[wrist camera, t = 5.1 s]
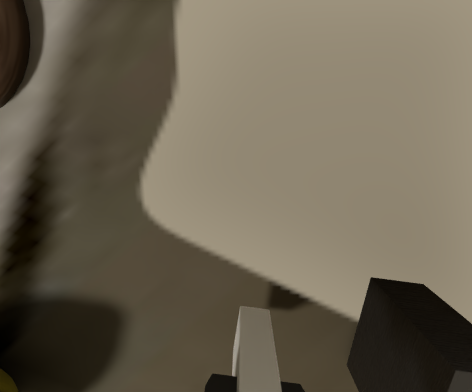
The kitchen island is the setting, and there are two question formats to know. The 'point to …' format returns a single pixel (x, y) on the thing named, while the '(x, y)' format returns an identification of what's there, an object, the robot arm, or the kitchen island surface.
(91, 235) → the kitchen island surface
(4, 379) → the lemon
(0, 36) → the candlestick
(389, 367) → the lopsided grey dumbbell
